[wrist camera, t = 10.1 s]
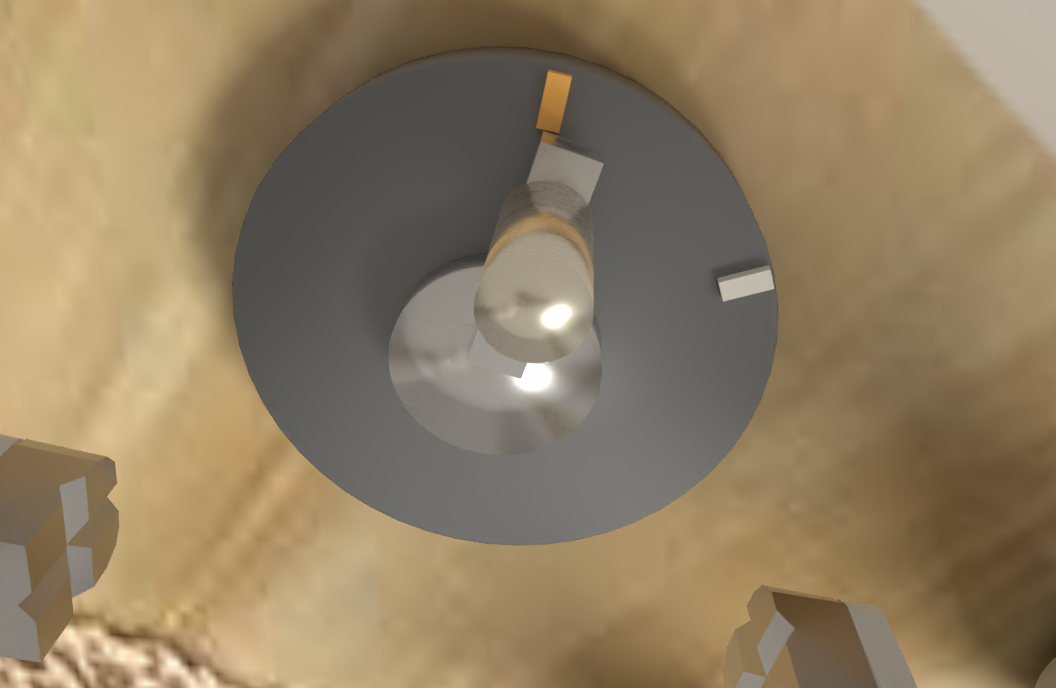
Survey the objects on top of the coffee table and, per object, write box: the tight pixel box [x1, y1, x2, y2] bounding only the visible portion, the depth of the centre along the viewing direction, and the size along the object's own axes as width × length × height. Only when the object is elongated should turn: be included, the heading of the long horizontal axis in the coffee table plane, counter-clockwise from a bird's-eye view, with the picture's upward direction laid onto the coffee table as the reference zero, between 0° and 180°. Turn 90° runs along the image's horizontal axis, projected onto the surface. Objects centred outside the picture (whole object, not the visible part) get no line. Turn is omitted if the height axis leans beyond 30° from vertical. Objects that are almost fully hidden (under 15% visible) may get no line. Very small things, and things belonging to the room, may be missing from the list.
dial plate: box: [232, 47, 778, 545], centre depth 24 cm, size 16×16×2 cm
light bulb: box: [388, 131, 604, 455], centre depth 20 cm, size 10×6×6 cm, turn 162°
